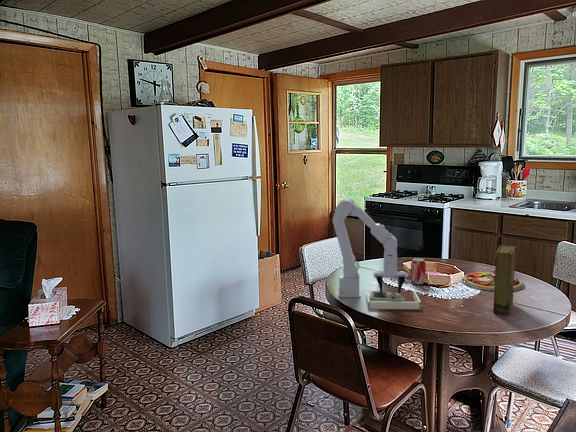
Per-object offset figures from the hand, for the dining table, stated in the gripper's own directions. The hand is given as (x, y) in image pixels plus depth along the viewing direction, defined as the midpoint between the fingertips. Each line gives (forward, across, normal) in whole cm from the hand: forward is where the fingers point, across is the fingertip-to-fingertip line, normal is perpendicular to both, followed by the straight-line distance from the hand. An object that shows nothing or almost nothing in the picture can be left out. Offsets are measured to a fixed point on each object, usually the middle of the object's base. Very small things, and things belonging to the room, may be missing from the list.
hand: (390, 292), depth 196 cm
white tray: (+2, 0, +8) cm, 8 cm away
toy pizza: (+3, -51, -22) cm, 55 cm away
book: (+2, -44, +12) cm, 46 cm away
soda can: (+2, -16, -21) cm, 26 cm away
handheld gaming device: (+3, +2, +6) cm, 7 cm away
